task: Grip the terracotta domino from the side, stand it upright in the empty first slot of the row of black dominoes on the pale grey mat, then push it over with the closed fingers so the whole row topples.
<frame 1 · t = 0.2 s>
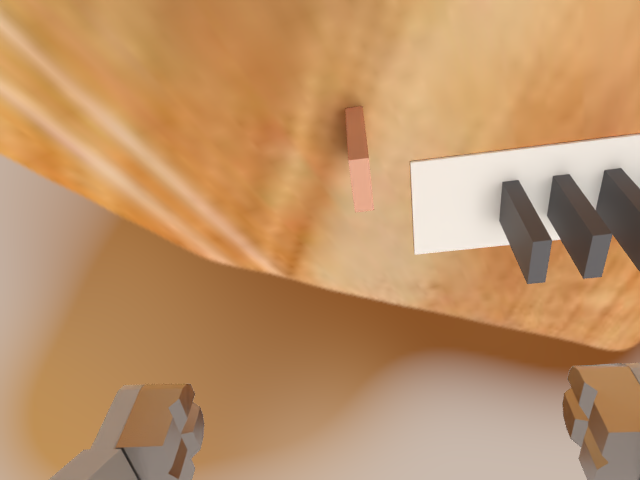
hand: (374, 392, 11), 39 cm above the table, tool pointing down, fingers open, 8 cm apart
terracotta domino: (356, 131, 50), on the table
domino 2: (508, 201, 54), resting on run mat
domino 4: (607, 189, 53), resting on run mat
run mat: (566, 192, 53), on the table
domino 3: (557, 195, 53), resting on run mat
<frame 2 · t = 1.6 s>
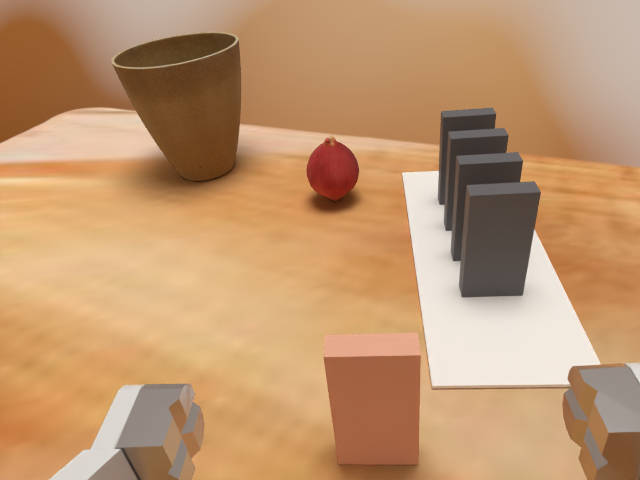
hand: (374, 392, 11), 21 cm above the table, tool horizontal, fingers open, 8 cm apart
terracotta domino: (377, 452, 33), on the table
onion: (335, 201, 59), on the table
domino 2: (490, 290, 44), resting on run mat
domino 5: (461, 200, 56), resting on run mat
domino 4: (469, 225, 52), resting on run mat
plant pot: (206, 169, 69), on the table
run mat: (476, 251, 49), on the table
domino 3: (479, 255, 48), resting on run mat
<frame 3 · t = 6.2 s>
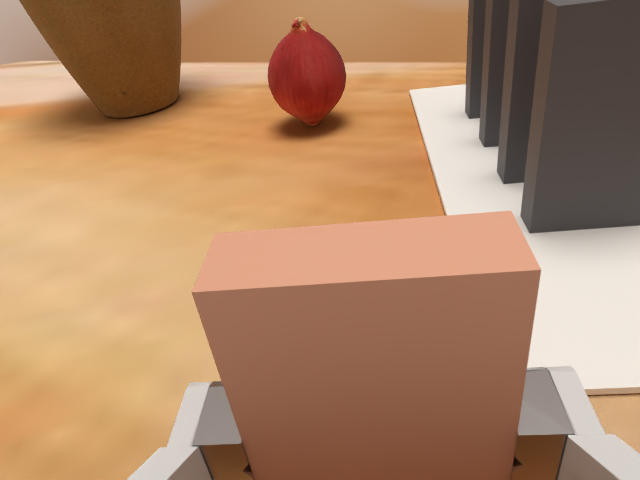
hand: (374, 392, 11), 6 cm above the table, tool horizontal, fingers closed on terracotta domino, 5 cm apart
onion: (313, 126, 41), on the table
domino 2: (578, 220, 25), resting on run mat
domino 5: (502, 111, 37), resting on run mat
domino 4: (521, 138, 33), resting on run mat
plant pot: (140, 106, 51), on the table
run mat: (539, 170, 30), on the table
domino 3: (545, 173, 29), resting on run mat
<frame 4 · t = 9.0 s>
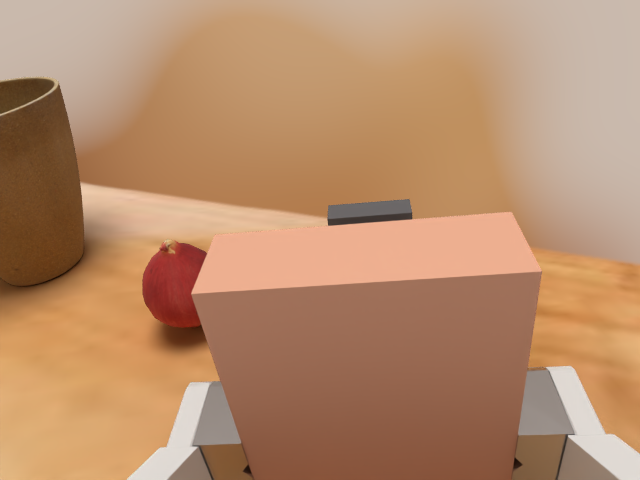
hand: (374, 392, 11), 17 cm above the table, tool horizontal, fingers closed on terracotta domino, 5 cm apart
onion: (197, 325, 40), on the table
domino 5: (378, 329, 36), resting on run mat
plant pot: (44, 264, 50), on the table
when the fingers open (7 cm above the table, at t = 12.0 s): terracotta domino stays where it is, resting on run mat.
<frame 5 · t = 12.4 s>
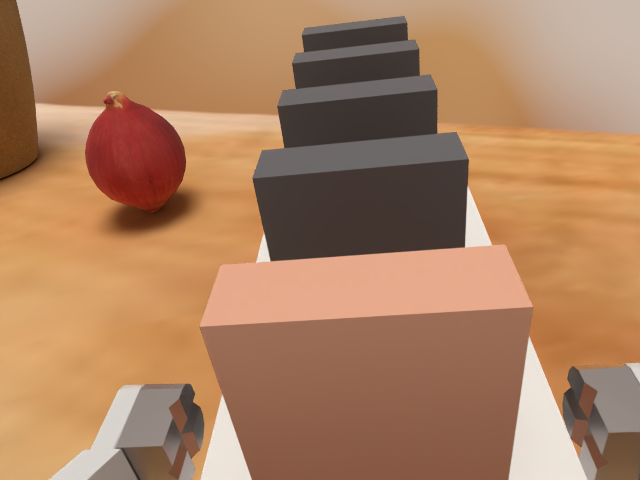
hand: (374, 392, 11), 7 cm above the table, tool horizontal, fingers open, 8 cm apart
onion: (156, 212, 34), on the table
domino 2: (380, 415, 18), resting on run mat
domino 5: (368, 203, 30), resting on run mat
domino 4: (371, 251, 26), resting on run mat
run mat: (374, 308, 23), on the table
domino 3: (375, 318, 22), resting on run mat
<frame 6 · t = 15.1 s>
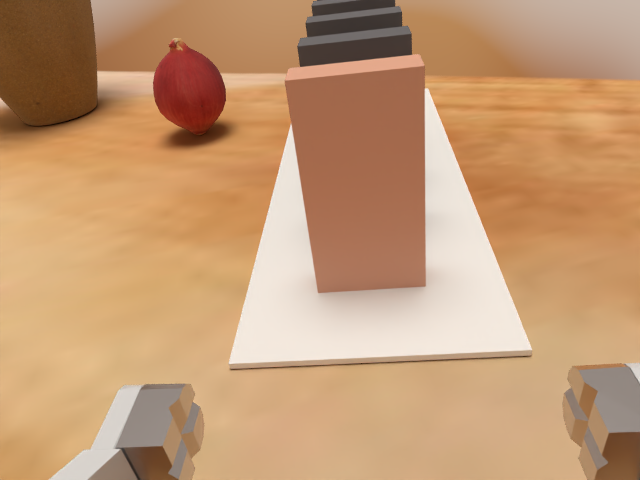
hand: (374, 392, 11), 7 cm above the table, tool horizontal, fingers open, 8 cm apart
terracotta domino: (370, 279, 24), resting on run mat
onion: (201, 136, 44), on the table
domino 2: (368, 223, 29), resting on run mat
domino 4: (364, 149, 37), resting on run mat
plant pot: (61, 115, 55), on the table
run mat: (366, 178, 34), on the table
domino 3: (366, 181, 33), resting on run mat
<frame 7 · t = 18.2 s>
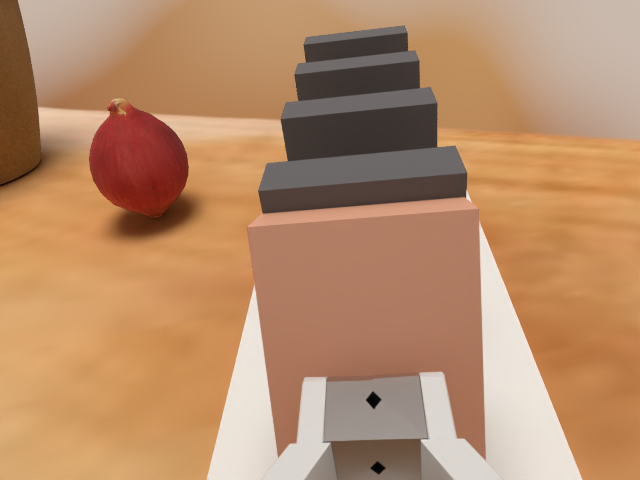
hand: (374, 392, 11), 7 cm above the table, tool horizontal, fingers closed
onion: (158, 217, 34), on the table
domino 2: (382, 421, 18), resting on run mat
domino 5: (368, 209, 31), resting on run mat
domino 4: (371, 257, 27), resting on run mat
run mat: (375, 314, 23), on the table
domino 3: (376, 324, 22), resting on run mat
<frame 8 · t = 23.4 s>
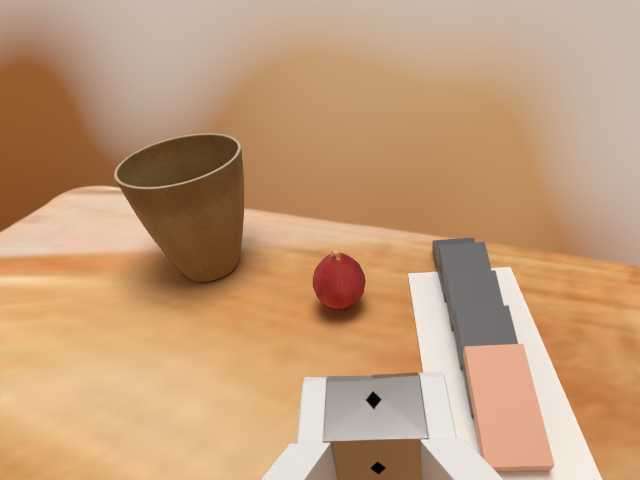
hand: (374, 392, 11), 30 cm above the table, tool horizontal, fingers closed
terracotta domino: (518, 469, 39), point 1 cm above the table, tilted 72°, touching domino 2, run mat
onion: (342, 308, 59), on the table
domino 2: (502, 413, 43), point 1 cm above the table, tilted 72°, touching domino 3, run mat, terracotta domino
domino 5: (467, 295, 56), point 1 cm above the table, tilted 90°, touching domino 4, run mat
domino 4: (476, 326, 52), point 1 cm above the table, tilted 71°, touching domino 3, domino 5
plant pot: (210, 266, 69), on the table
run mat: (488, 375, 48), on the table
domino 3: (488, 365, 48), point 1 cm above the table, tilted 71°, touching domino 2, domino 4, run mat
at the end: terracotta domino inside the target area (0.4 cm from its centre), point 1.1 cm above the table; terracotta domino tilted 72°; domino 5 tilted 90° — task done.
